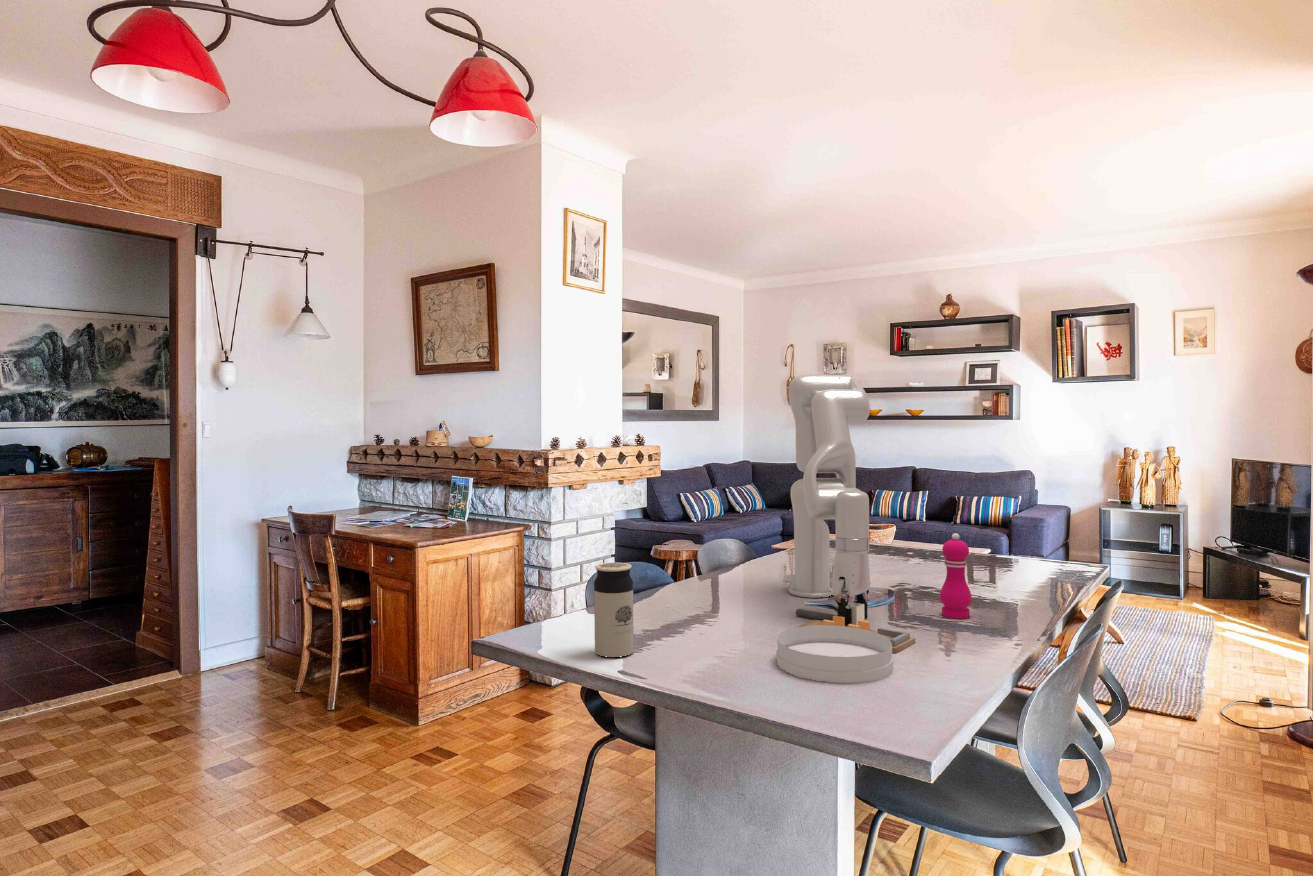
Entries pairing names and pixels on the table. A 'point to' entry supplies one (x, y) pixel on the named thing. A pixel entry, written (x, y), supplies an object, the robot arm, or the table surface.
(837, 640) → the dish
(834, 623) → the clip
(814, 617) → the connector
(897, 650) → the board
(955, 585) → the pepper mill
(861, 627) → the clip
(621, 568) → the travel mug
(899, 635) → the end holder
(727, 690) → the table surface
